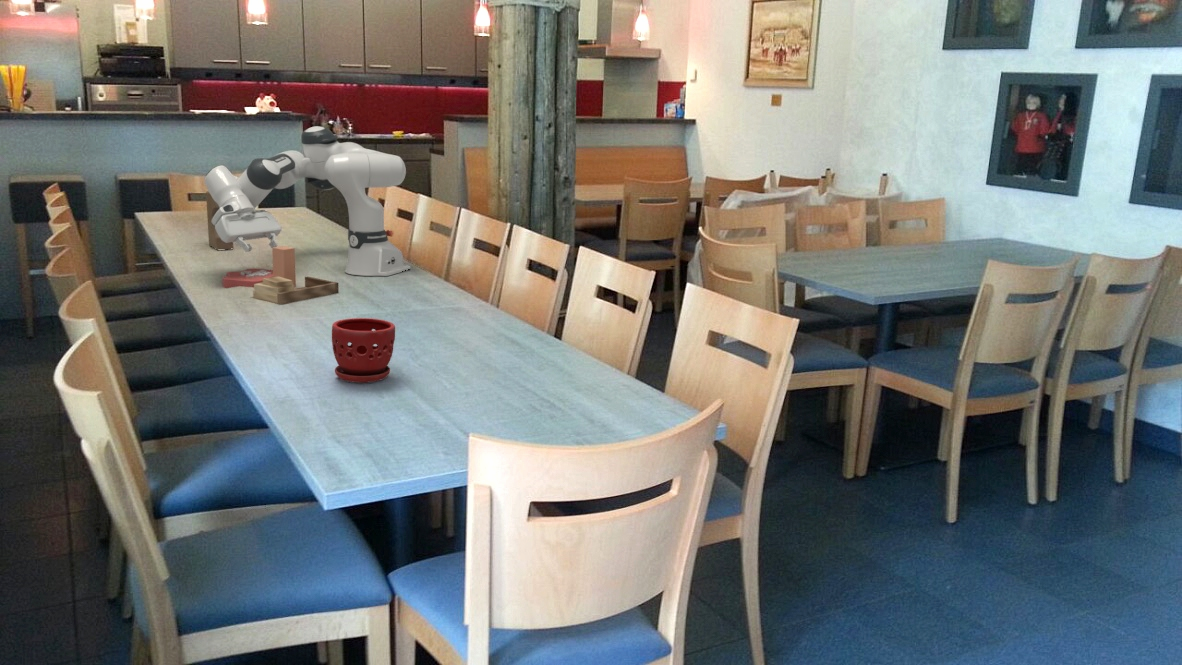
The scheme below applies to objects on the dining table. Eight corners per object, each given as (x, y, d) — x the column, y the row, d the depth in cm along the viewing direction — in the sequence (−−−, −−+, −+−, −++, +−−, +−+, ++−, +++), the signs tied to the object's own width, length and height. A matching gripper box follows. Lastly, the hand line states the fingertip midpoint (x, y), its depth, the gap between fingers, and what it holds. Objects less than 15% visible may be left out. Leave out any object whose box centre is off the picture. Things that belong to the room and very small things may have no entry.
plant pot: (381, 389, 195) (380, 333, 192) (322, 383, 197) (320, 327, 194) (404, 371, 207) (404, 319, 204) (348, 365, 209) (347, 313, 206)
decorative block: (233, 249, 338) (230, 194, 333) (217, 250, 335) (214, 194, 329) (224, 245, 346) (221, 190, 341) (208, 246, 343) (205, 191, 338)
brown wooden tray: (308, 289, 282) (307, 276, 281) (338, 296, 275) (338, 282, 274) (249, 300, 264) (249, 286, 263) (280, 308, 258) (280, 293, 257)
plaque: (241, 265, 295) (286, 269, 293) (242, 277, 296) (286, 281, 294) (210, 275, 278) (258, 279, 276) (211, 288, 279) (258, 292, 277)
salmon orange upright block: (284, 285, 283) (283, 246, 280) (295, 287, 280) (294, 248, 277) (273, 287, 279) (272, 247, 276) (285, 289, 277) (283, 249, 274)
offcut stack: (273, 293, 270) (273, 274, 268) (299, 299, 264) (299, 280, 263) (252, 297, 264) (251, 278, 262) (278, 303, 258) (278, 284, 257)
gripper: (262, 215, 294) (285, 250, 291) (206, 222, 277) (229, 259, 275) (271, 203, 290) (294, 238, 288) (215, 208, 274) (238, 246, 271)
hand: (262, 248), depth 281 cm, fingers open, 8 cm apart
